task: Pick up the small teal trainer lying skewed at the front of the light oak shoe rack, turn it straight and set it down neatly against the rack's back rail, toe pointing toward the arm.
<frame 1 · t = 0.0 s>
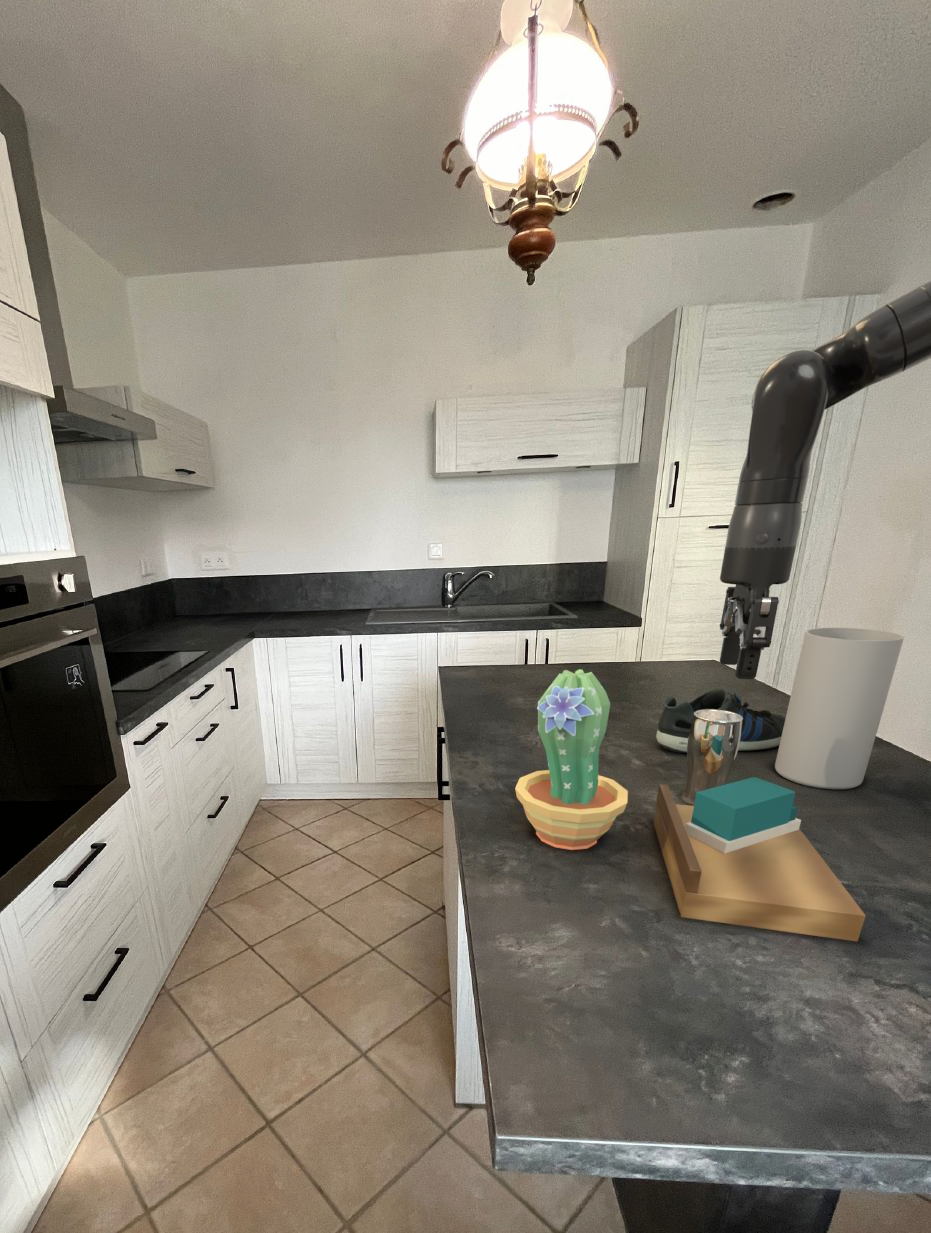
hand: (736, 670, 80), 24 cm above the countertop, tool pointing down, fingers open, 8 cm apart
potted cactus: (566, 840, 87), on the countertop
water shoe: (726, 746, 120), on the countertop
cylinder vase: (816, 777, 104), on the countertop
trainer: (741, 831, 79), point 4 cm above the countertop, touching shoe rack
shoe rack: (736, 876, 76), on the countertop
beer glass: (701, 804, 96), on the countertop
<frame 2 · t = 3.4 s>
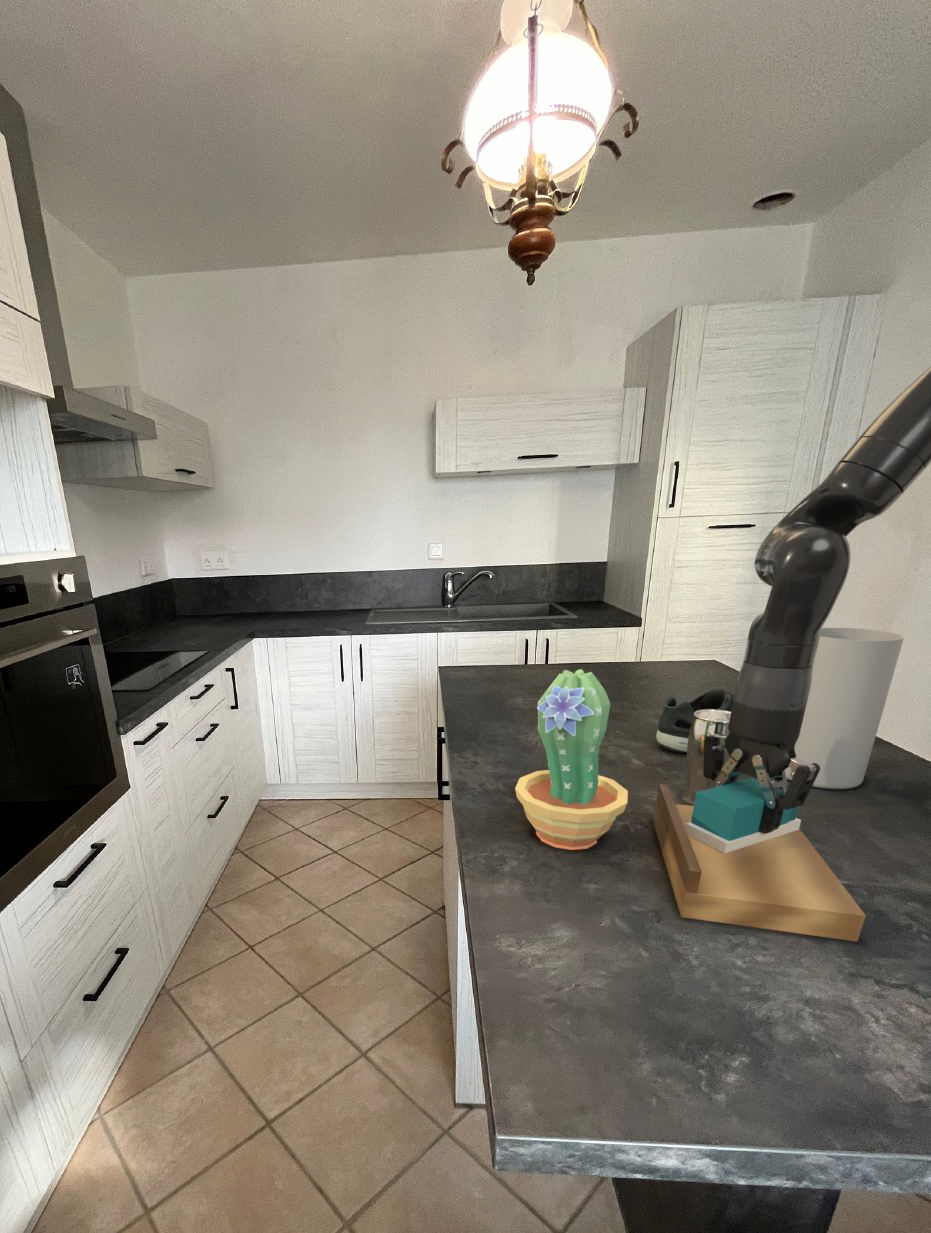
hand: (743, 821, 79), 6 cm above the countertop, tool pointing down, fingers closed on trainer, 5 cm apart
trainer: (741, 831, 79), point 4 cm above the countertop, touching gripper, shoe rack
everything else where it was.
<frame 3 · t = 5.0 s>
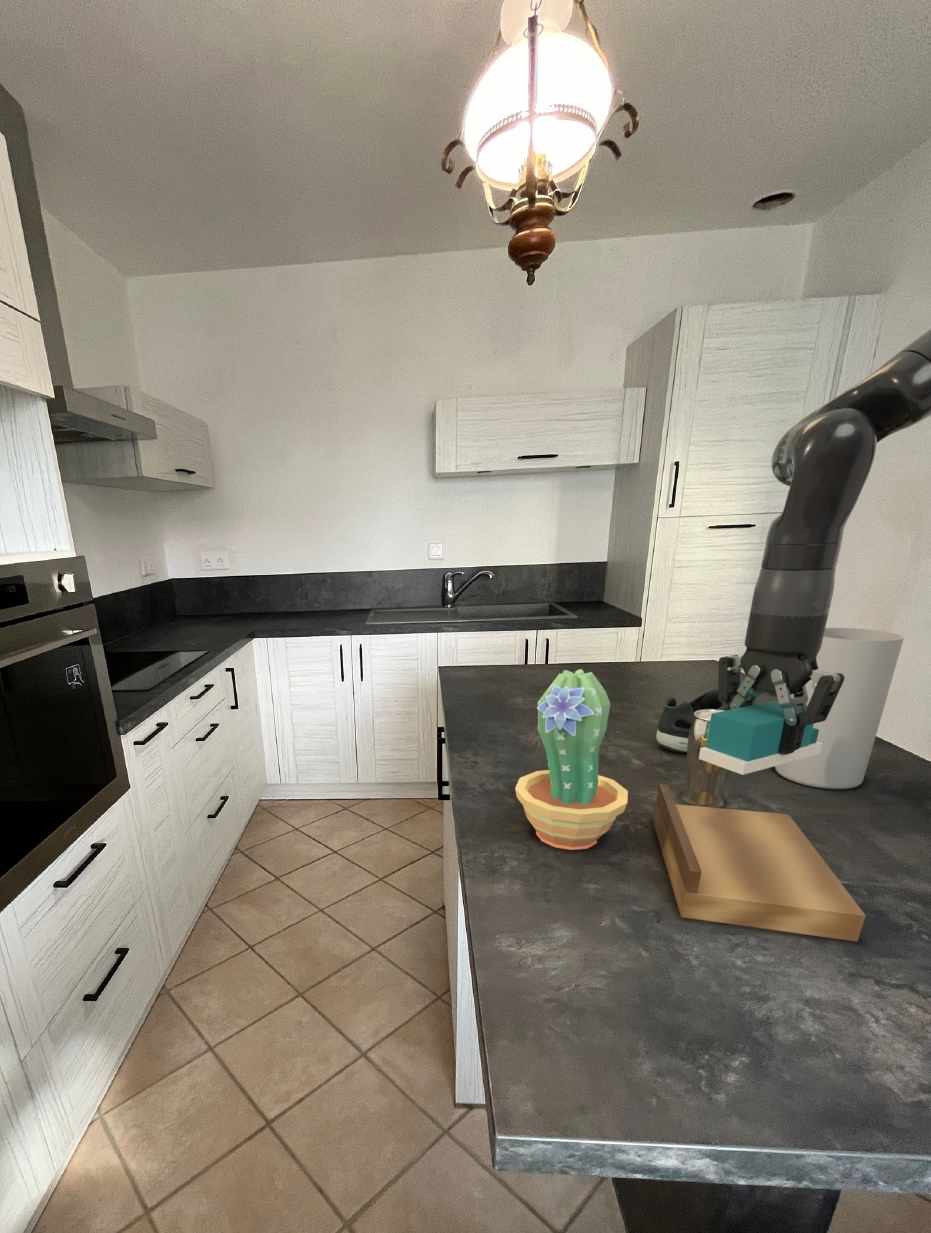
hand: (761, 744, 74), 16 cm above the countertop, tool pointing down, fingers closed on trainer, 5 cm apart
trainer: (759, 756, 75), point 15 cm above the countertop, touching gripper
everything else where it was.
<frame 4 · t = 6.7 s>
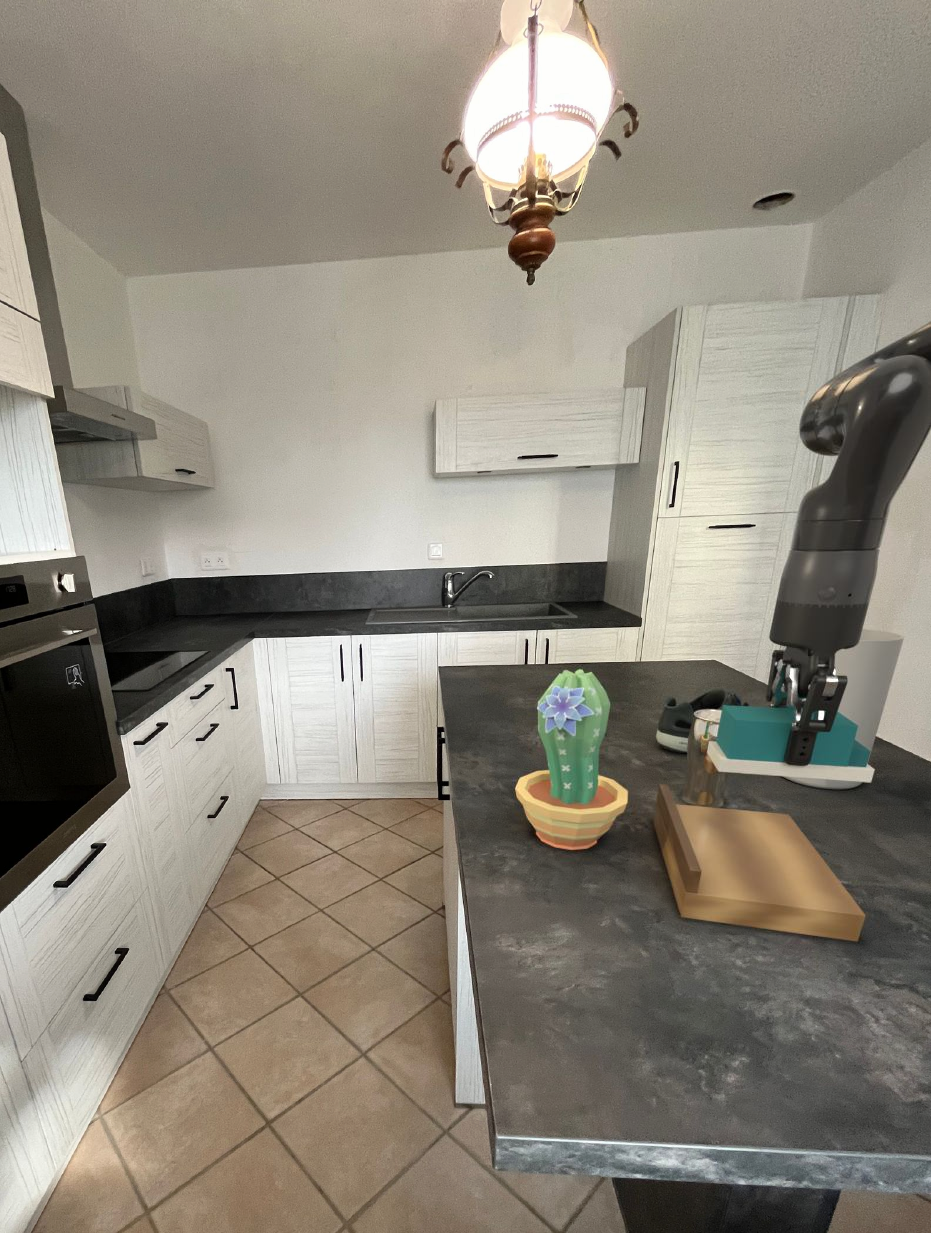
hand: (786, 753, 65), 19 cm above the countertop, tool pointing down, fingers closed on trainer, 5 cm apart
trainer: (783, 766, 66), point 17 cm above the countertop, touching gripper
everything else where it was.
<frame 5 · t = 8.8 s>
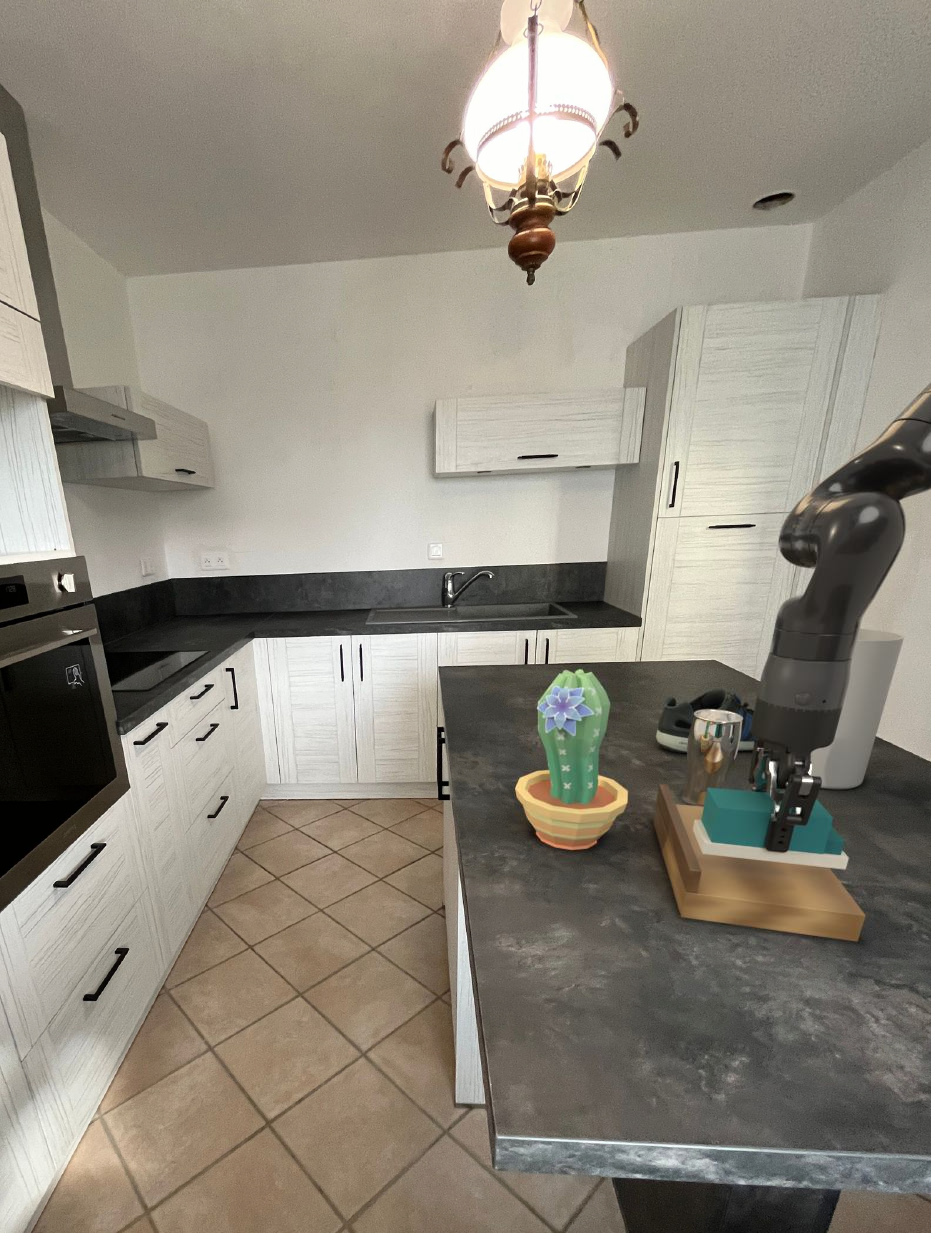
hand: (766, 836, 69), 9 cm above the countertop, tool pointing down, fingers closed on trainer, 5 cm apart
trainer: (763, 848, 69), point 7 cm above the countertop, touching gripper
everything else where it was.
when the fingers open (6 cm above the countertop, at t = 10.2 s): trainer stays where it is, resting on shoe rack.
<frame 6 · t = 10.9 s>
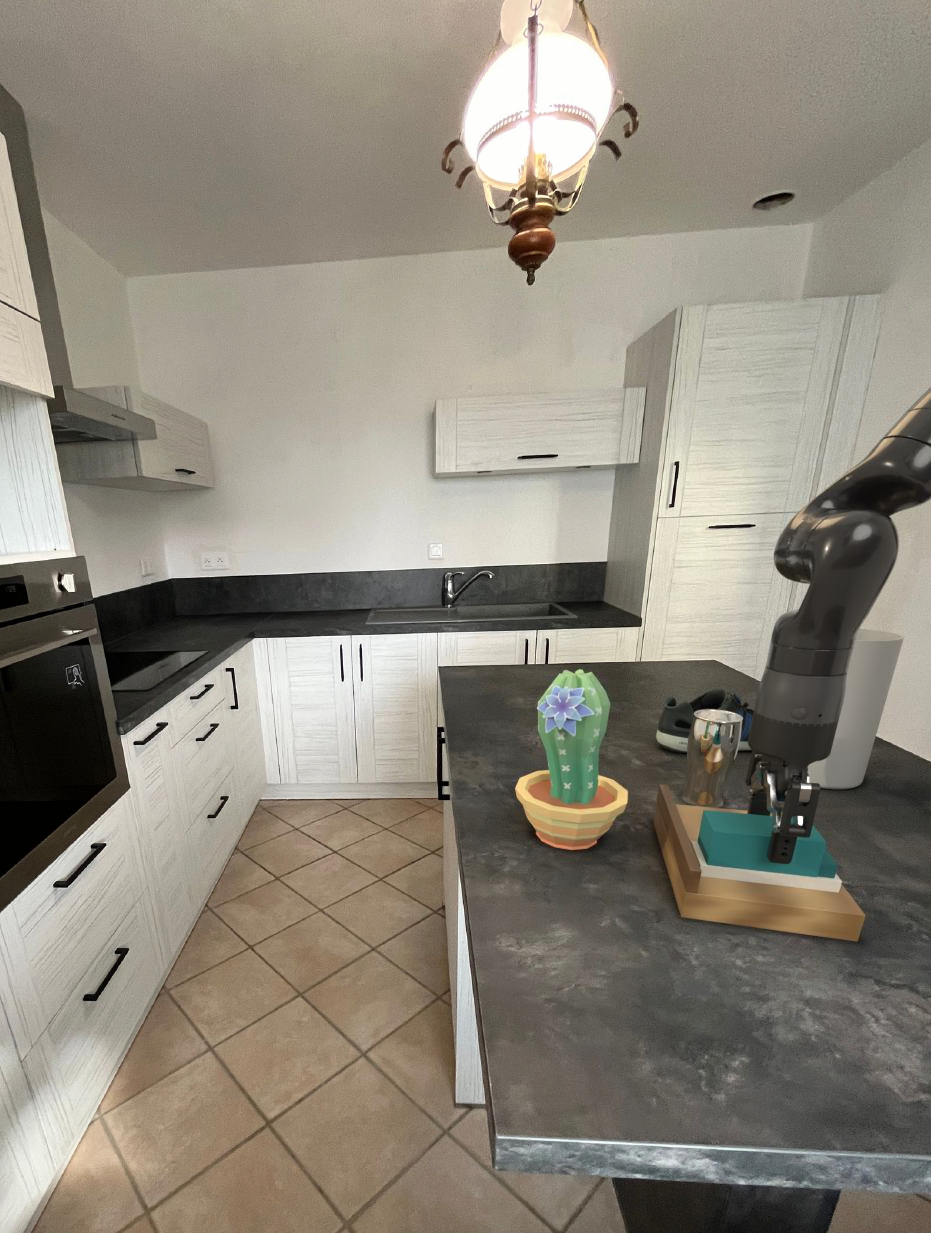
hand: (766, 843, 69), 8 cm above the countertop, tool pointing down, fingers open, 8 cm apart
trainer: (758, 870, 70), point 4 cm above the countertop, touching shoe rack
everything else where it was.
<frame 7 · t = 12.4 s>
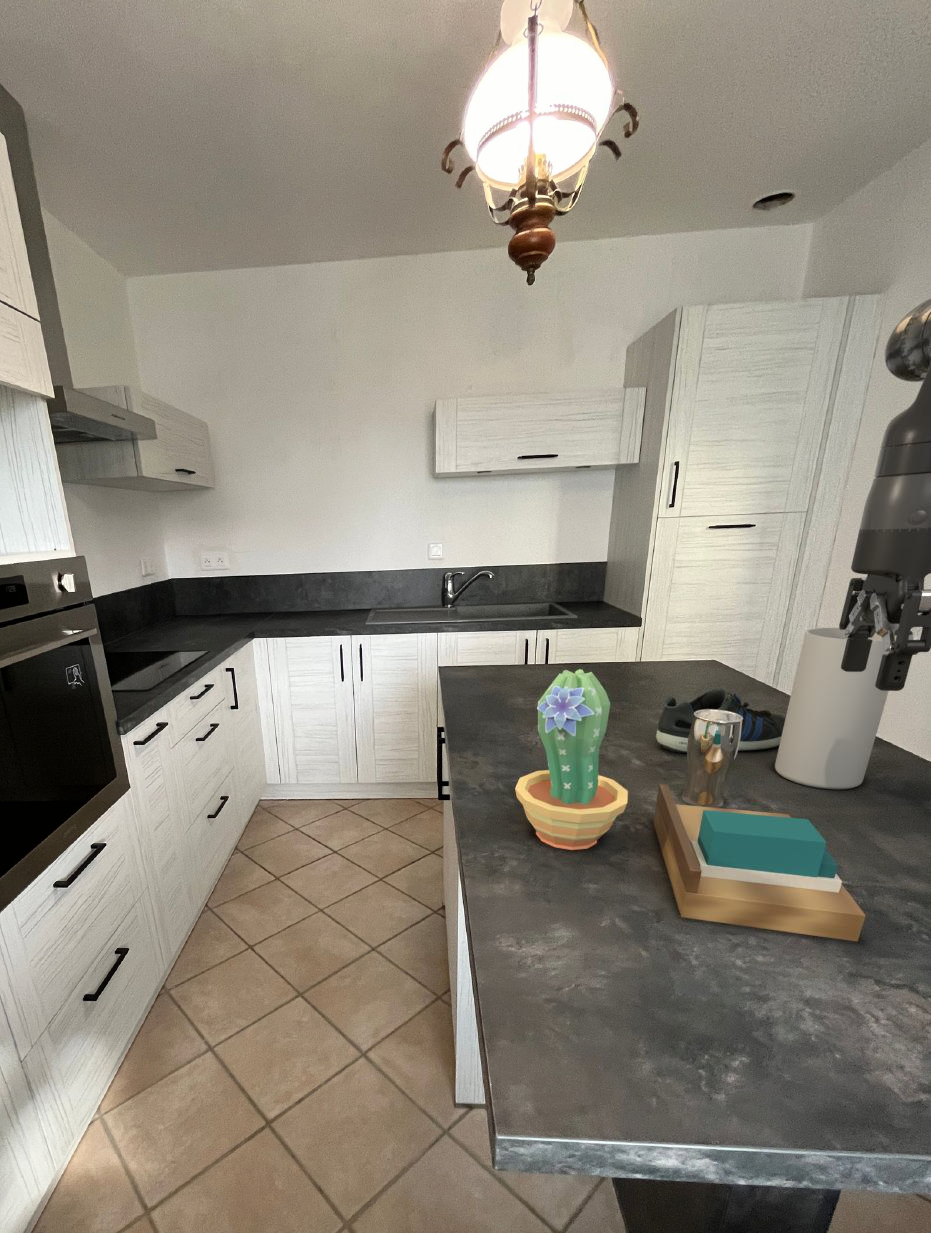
hand: (869, 679, 66), 26 cm above the countertop, tool pointing down, fingers open, 8 cm apart
nothing on the countertop moved.
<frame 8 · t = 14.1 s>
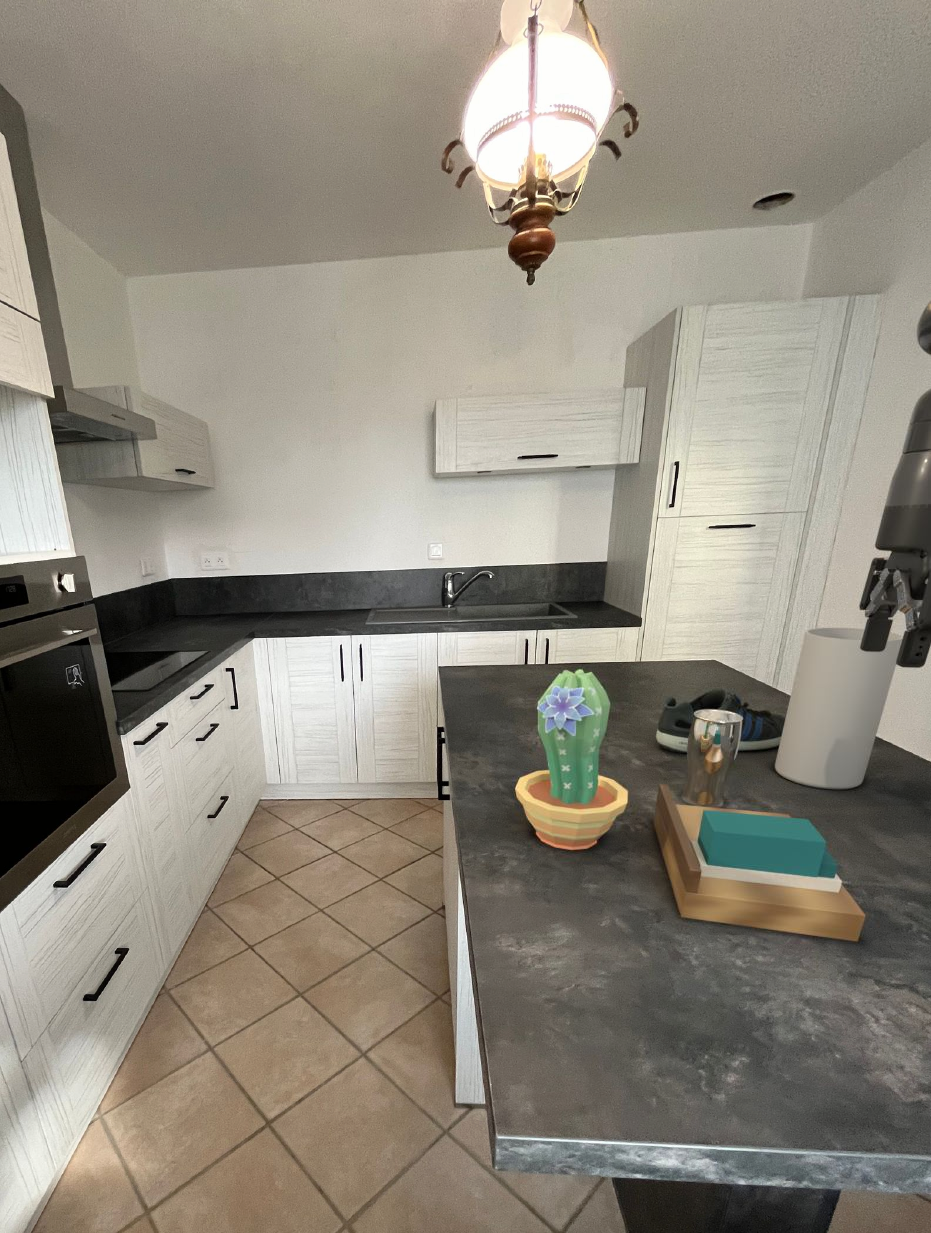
hand: (889, 658, 66), 28 cm above the countertop, tool pointing down, fingers open, 8 cm apart
nothing on the countertop moved.
at the end: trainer 0.0 cm from the target spot on the shoe rack, point 4.0 cm above the shoe rack's base; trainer tilted 0°; the gripper is holding nothing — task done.
